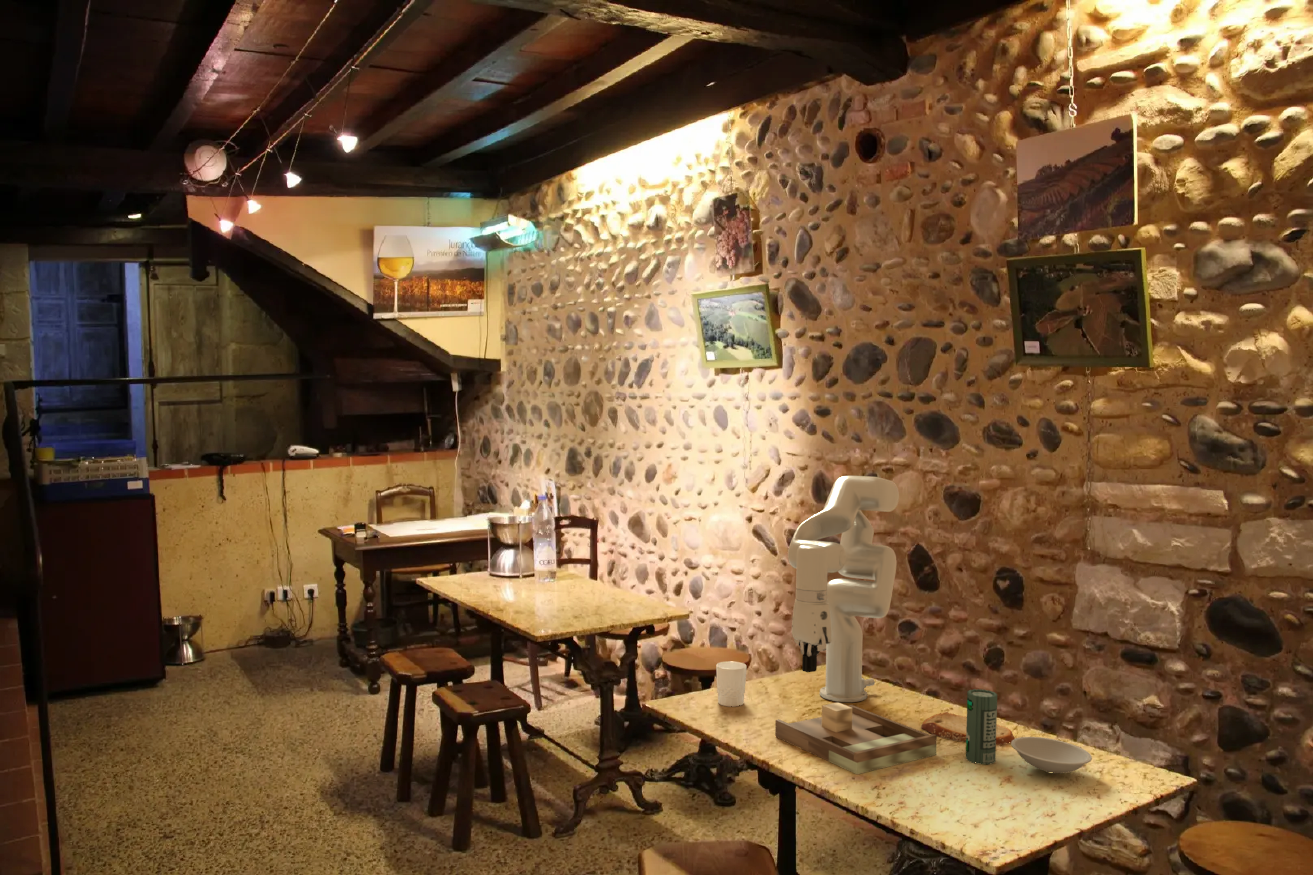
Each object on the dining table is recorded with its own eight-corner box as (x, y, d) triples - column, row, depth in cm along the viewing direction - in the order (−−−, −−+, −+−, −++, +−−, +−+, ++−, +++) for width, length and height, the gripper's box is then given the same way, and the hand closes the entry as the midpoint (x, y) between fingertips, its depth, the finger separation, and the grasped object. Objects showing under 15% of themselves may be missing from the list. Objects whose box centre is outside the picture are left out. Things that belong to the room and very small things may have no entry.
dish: (994, 764, 231) (995, 742, 231) (1039, 754, 238) (1040, 732, 238) (1061, 792, 215) (1061, 768, 215) (1107, 779, 223) (1107, 756, 222)
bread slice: (1021, 743, 246) (1022, 728, 246) (954, 750, 241) (954, 734, 241) (977, 720, 263) (977, 705, 263) (913, 726, 258) (914, 711, 258)
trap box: (851, 720, 260) (851, 702, 260) (936, 754, 237) (936, 735, 236) (775, 736, 248) (775, 717, 248) (856, 774, 224) (857, 753, 224)
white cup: (710, 700, 276) (710, 663, 276) (736, 697, 279) (737, 660, 279) (724, 708, 269) (725, 670, 268) (751, 705, 272) (752, 667, 272)
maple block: (837, 722, 251) (838, 702, 250) (851, 728, 246) (852, 707, 246) (821, 726, 248) (822, 705, 248) (835, 732, 244) (836, 711, 243)
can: (979, 752, 238) (981, 687, 237) (1000, 761, 233) (1002, 694, 232) (960, 757, 235) (962, 691, 234) (981, 766, 230) (983, 698, 229)
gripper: (843, 599, 250) (841, 676, 250) (803, 590, 262) (801, 662, 263) (819, 602, 246) (817, 679, 246) (779, 592, 258) (777, 666, 259)
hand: (809, 670), depth 255 cm, fingers closed
